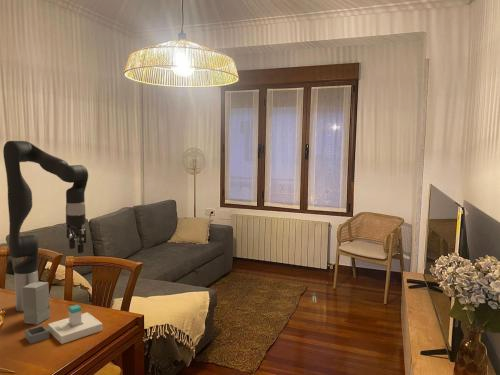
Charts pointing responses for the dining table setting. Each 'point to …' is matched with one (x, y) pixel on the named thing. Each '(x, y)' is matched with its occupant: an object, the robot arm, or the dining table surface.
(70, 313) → the plug
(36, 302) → the skincare box
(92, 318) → the port plate
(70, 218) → the robot arm
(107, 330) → the dining table surface
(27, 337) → the holster
